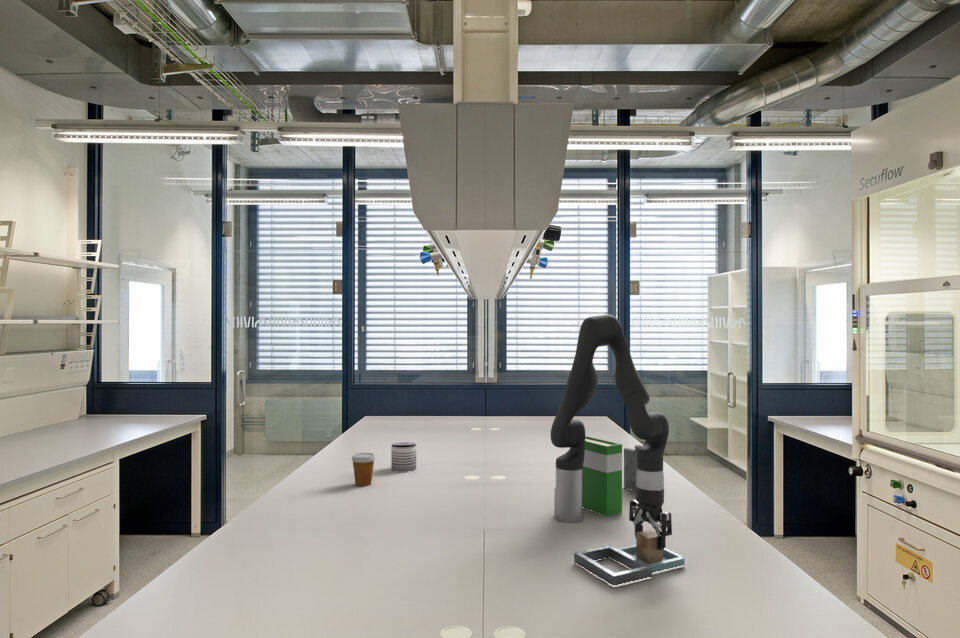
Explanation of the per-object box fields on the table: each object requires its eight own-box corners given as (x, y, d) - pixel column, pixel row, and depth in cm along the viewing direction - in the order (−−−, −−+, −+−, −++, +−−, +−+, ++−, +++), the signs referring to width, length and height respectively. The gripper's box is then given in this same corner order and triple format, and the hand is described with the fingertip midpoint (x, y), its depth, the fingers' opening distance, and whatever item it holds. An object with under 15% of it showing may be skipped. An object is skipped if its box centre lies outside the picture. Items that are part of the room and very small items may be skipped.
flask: (629, 486, 237) (629, 442, 237) (655, 495, 224) (655, 448, 225) (622, 487, 235) (622, 442, 235) (647, 496, 223) (647, 449, 223)
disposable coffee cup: (372, 487, 234) (372, 457, 234) (348, 487, 234) (349, 457, 234) (377, 481, 243) (377, 452, 243) (354, 481, 243) (354, 452, 244)
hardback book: (571, 503, 214) (571, 438, 214) (586, 500, 218) (586, 436, 218) (606, 517, 199) (606, 446, 199) (622, 513, 203) (622, 444, 203)
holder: (574, 563, 160) (574, 552, 160) (610, 555, 166) (610, 545, 166) (613, 588, 145) (613, 576, 145) (652, 579, 151) (652, 567, 151)
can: (386, 471, 260) (386, 444, 260) (397, 465, 271) (397, 439, 271) (410, 473, 257) (410, 445, 257) (420, 467, 268) (420, 441, 268)
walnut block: (636, 557, 162) (636, 532, 162) (650, 554, 165) (650, 529, 165) (648, 564, 158) (648, 538, 158) (662, 561, 160) (662, 535, 160)
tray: (614, 557, 164) (614, 548, 164) (651, 549, 170) (651, 541, 170) (647, 576, 152) (647, 566, 152) (686, 567, 158) (686, 557, 158)
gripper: (622, 480, 166) (622, 537, 166) (657, 493, 153) (657, 555, 153) (642, 477, 169) (642, 533, 169) (679, 490, 157) (679, 550, 157)
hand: (649, 544), depth 161 cm, fingers open, 8 cm apart
